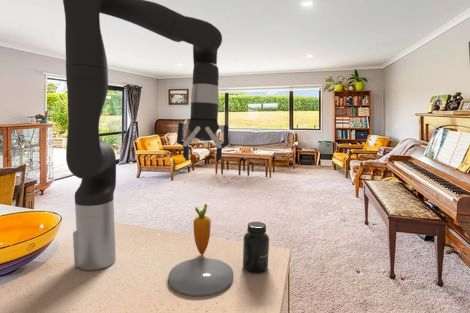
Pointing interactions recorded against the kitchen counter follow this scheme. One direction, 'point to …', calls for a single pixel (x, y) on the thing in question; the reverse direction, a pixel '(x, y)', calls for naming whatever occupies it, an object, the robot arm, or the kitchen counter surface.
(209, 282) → the slate plate
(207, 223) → the carrot
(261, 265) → the supplement bottle
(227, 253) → the kitchen counter surface
